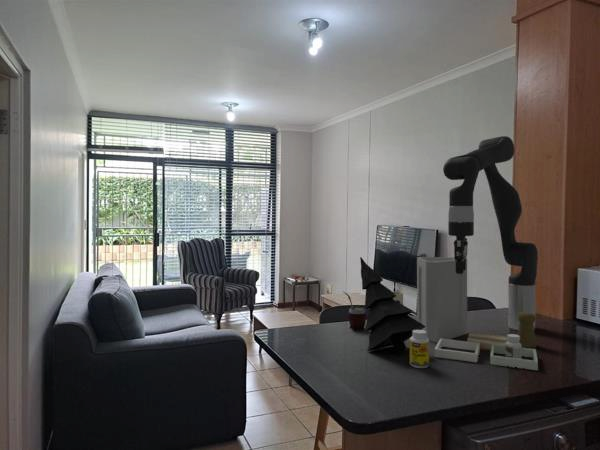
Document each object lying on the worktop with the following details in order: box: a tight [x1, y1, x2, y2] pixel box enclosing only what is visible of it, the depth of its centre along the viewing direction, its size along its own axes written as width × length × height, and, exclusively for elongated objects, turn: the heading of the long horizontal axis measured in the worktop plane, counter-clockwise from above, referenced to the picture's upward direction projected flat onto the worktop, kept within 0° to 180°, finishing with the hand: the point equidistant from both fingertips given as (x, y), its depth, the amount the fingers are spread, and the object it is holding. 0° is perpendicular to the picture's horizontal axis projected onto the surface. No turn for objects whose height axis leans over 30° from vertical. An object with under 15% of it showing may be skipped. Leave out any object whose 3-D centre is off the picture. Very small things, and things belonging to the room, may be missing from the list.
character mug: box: [391, 290, 404, 305], centre depth 174 cm, size 11×7×13 cm, turn 131°
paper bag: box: [416, 256, 468, 344], centre depth 161 cm, size 19×15×28 cm
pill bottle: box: [504, 333, 523, 359], centre depth 131 cm, size 4×4×8 cm
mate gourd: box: [343, 291, 367, 332], centre depth 169 cm, size 8×8×15 cm
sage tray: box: [489, 344, 539, 371], centre depth 131 cm, size 12×12×2 cm
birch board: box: [466, 332, 508, 351], centre depth 147 cm, size 12×12×2 cm
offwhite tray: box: [434, 338, 481, 363], centre depth 138 cm, size 12×12×2 cm
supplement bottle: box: [409, 330, 430, 369], centre depth 128 cm, size 6×6×10 cm
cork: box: [517, 312, 537, 349], centre depth 146 cm, size 6×6×11 cm
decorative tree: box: [359, 257, 426, 355], centre depth 146 cm, size 15×15×35 cm
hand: (460, 271), depth 137 cm, fingers open, 8 cm apart
